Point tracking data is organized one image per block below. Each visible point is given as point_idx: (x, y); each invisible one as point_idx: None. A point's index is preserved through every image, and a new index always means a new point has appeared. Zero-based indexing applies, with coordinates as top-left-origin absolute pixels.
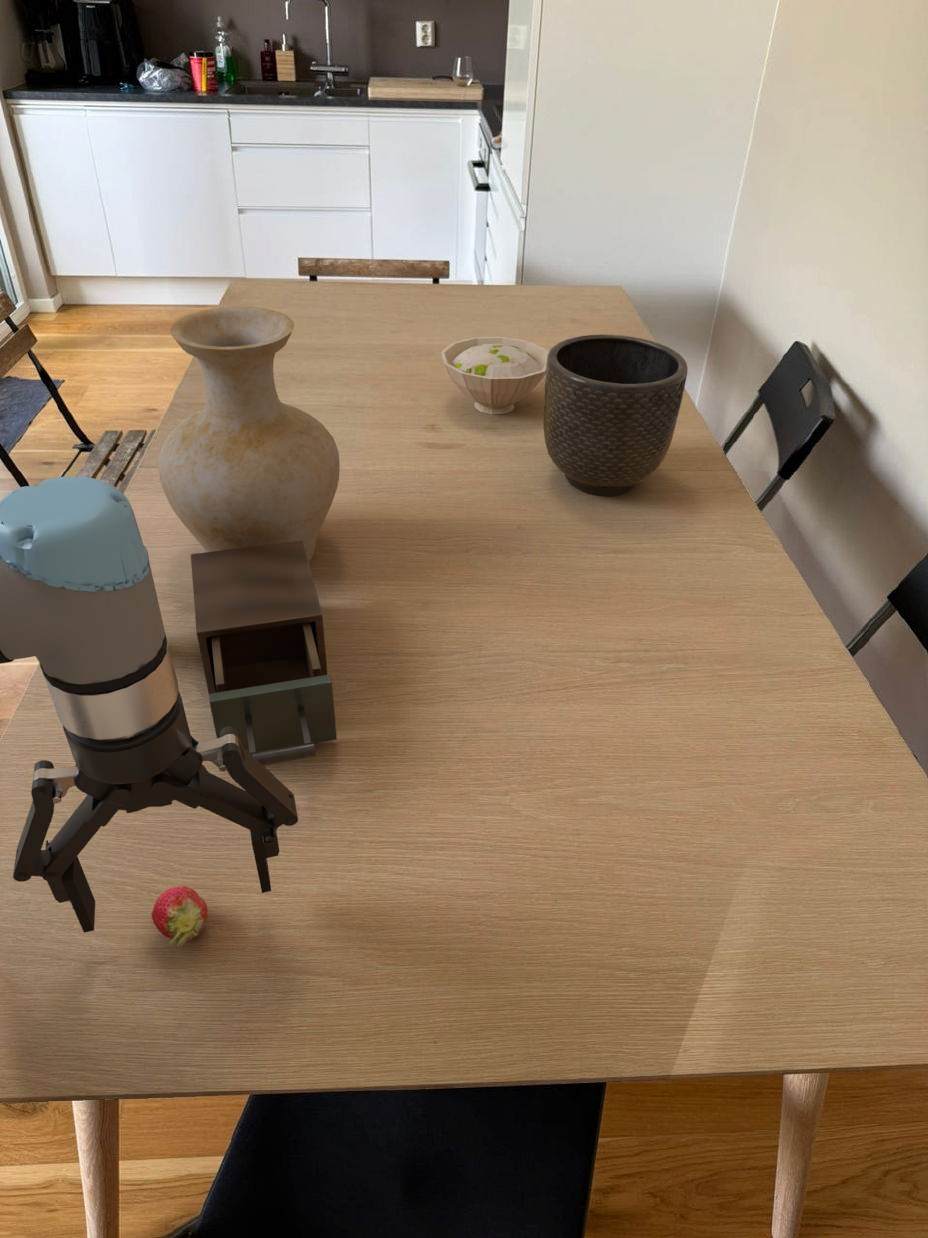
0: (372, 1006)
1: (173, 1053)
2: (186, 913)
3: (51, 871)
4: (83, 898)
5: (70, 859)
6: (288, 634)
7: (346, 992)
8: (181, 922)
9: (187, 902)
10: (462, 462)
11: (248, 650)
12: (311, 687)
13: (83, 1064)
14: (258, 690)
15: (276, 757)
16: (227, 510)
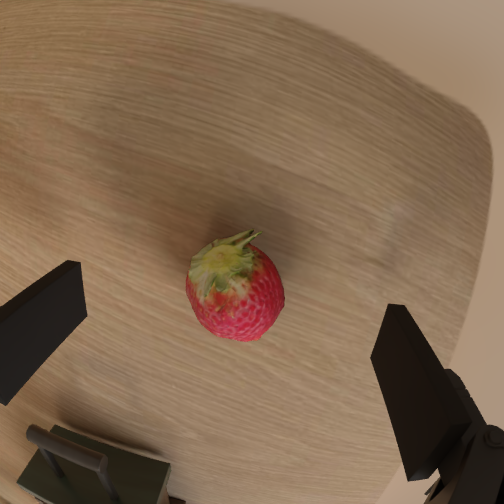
0: (32, 70)
1: (289, 60)
2: (212, 274)
3: (497, 455)
4: (410, 368)
5: (463, 494)
6: None
7: (49, 92)
8: (227, 262)
9: (203, 294)
10: None
11: None
12: (35, 490)
13: (418, 103)
14: None
15: (65, 451)
16: None
